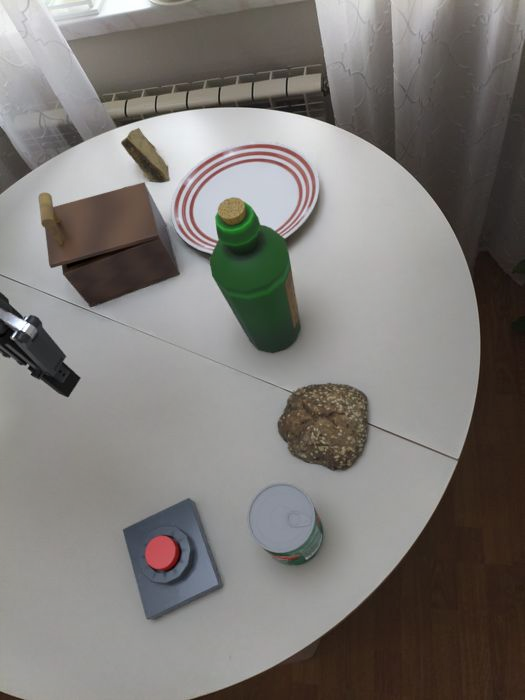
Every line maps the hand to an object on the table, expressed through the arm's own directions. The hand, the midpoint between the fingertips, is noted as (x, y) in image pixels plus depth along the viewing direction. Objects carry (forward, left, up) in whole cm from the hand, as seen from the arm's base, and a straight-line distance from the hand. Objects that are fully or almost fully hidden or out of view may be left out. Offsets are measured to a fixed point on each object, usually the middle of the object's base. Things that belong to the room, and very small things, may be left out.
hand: (69, 385), depth 65 cm
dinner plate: (-35, +32, -22) cm, 52 cm away
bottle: (-8, +26, -22) cm, 35 cm away
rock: (-56, +20, -22) cm, 64 cm away
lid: (-34, +7, -10) cm, 37 cm away
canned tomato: (+22, +16, -22) cm, 34 cm away
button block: (+18, 0, -21) cm, 28 cm away
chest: (-34, +8, -21) cm, 41 cm away
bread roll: (+10, +26, -22) cm, 35 cm away
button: (+18, 0, -18) cm, 25 cm away
